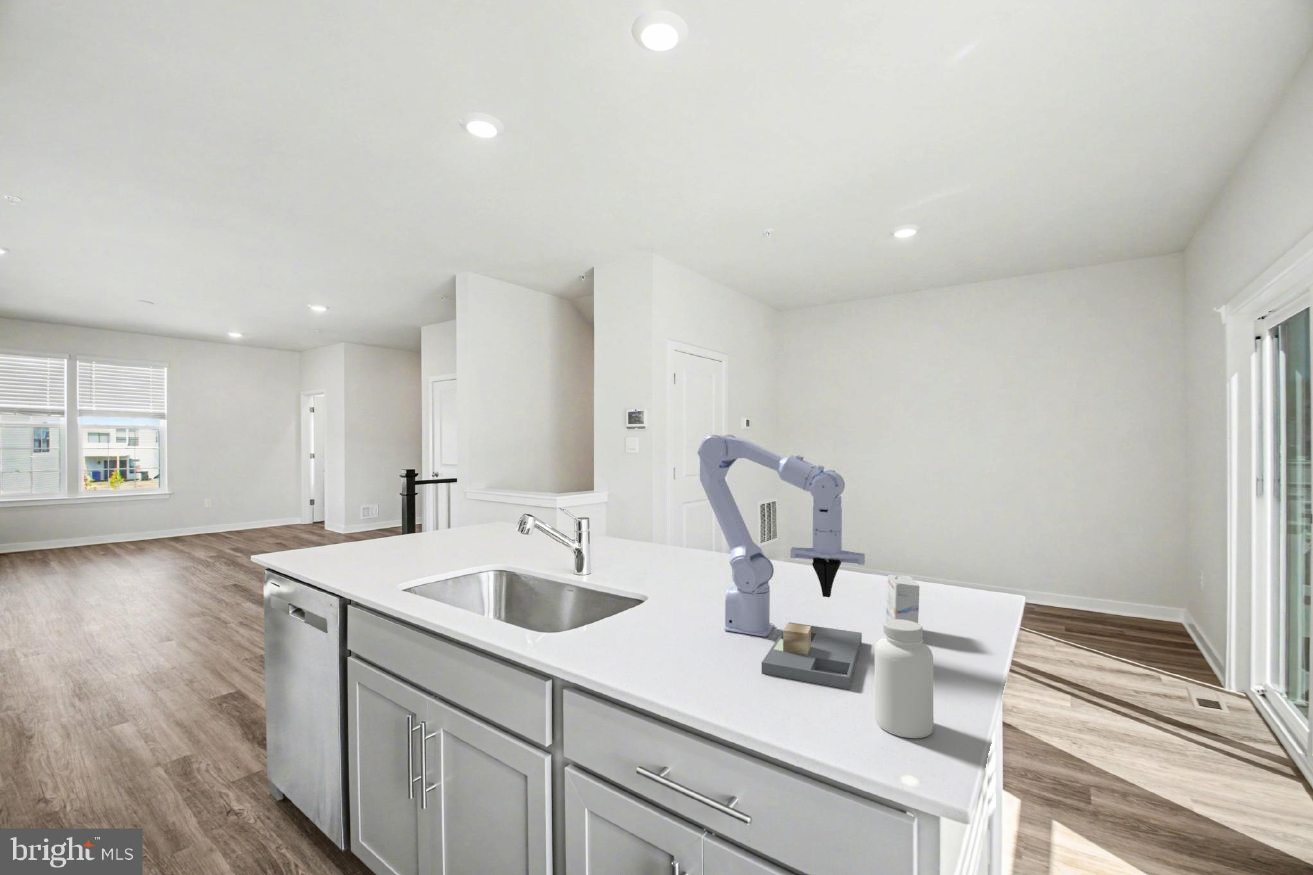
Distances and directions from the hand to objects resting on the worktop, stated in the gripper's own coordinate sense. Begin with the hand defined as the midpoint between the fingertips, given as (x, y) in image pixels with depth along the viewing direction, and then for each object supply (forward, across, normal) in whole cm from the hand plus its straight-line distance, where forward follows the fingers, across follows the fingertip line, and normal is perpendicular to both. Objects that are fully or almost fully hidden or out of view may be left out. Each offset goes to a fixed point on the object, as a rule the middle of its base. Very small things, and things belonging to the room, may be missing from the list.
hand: (826, 595), depth 115 cm
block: (+8, -4, -11) cm, 14 cm away
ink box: (+10, +14, +14) cm, 22 cm away
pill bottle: (+10, +15, -29) cm, 34 cm away
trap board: (+10, -1, -8) cm, 13 cm away
